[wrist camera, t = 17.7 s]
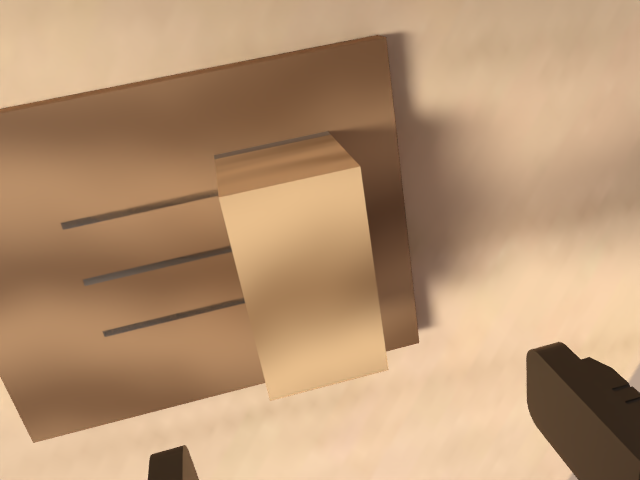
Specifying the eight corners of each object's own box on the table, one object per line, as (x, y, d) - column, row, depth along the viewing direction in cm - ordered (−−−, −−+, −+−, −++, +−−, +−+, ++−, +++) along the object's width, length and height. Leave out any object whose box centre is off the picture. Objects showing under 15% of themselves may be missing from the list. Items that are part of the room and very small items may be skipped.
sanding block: (213, 155, 22) (218, 197, 18) (327, 131, 23) (360, 166, 18) (257, 328, 25) (269, 400, 21) (355, 303, 26) (388, 370, 21)
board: (-103, 129, 21) (-119, 136, 20) (376, 35, 23) (386, 37, 22) (40, 424, 27) (33, 442, 26) (410, 329, 29) (419, 342, 28)
